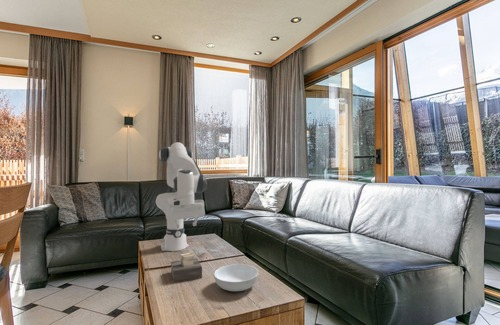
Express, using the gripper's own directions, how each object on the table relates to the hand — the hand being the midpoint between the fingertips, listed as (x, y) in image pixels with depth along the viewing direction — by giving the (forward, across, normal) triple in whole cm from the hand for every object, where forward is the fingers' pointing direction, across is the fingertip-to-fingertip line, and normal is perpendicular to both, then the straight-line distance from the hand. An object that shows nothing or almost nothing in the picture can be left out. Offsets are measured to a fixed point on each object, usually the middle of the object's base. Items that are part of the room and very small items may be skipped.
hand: (185, 226), depth 140 cm
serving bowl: (+25, -15, +27) cm, 40 cm away
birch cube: (+20, 0, +1) cm, 20 cm away
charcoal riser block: (+26, 0, 0) cm, 26 cm away
